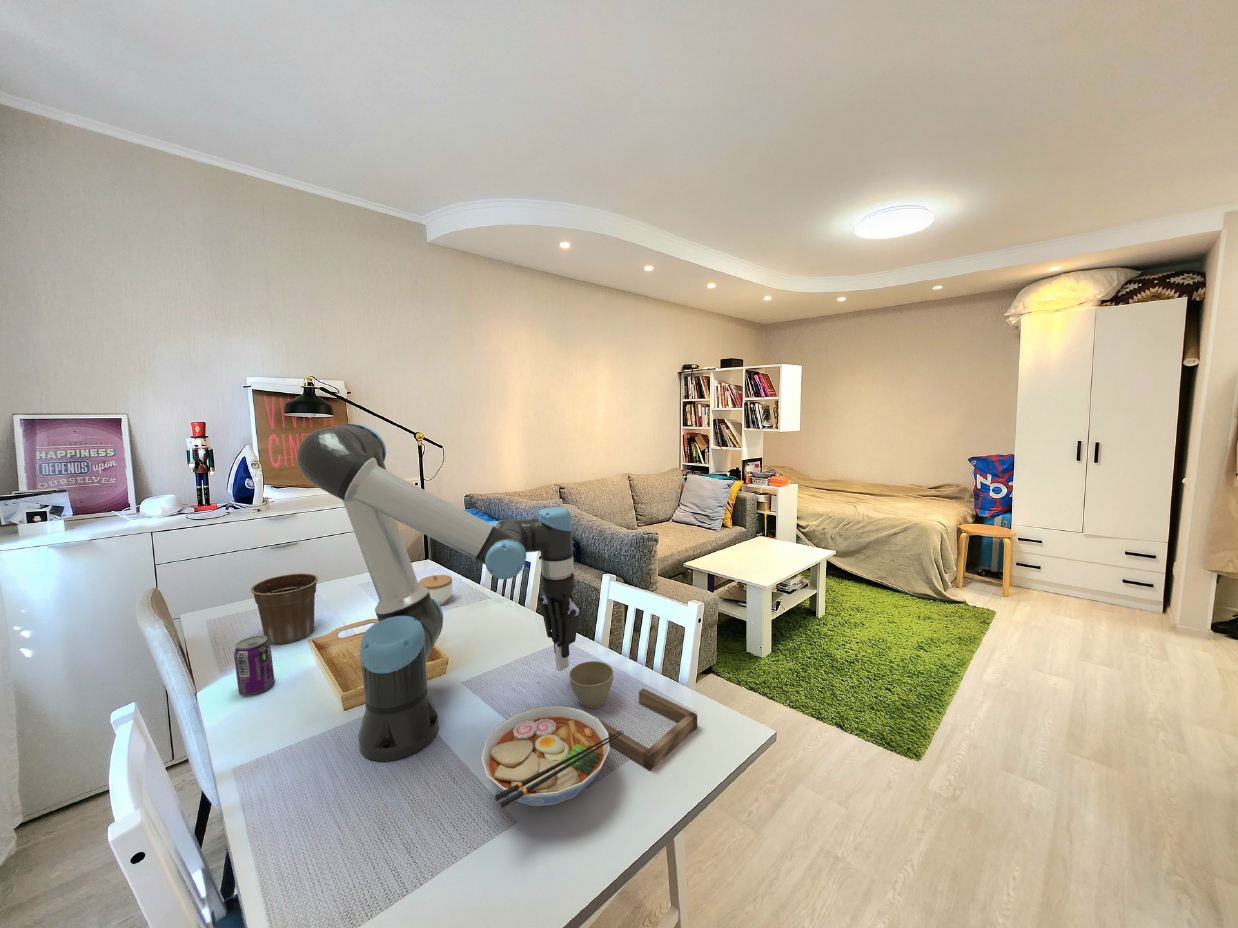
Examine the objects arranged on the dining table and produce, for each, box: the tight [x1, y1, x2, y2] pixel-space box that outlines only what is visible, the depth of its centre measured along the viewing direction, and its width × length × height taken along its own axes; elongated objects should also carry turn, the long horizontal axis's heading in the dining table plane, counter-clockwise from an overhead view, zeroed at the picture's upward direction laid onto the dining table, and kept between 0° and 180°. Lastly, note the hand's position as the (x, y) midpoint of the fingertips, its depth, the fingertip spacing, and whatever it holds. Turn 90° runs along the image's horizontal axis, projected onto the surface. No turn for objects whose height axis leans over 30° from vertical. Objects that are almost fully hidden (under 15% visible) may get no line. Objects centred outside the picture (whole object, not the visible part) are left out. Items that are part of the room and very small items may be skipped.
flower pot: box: [568, 660, 615, 709], centre depth 114 cm, size 10×10×7 cm
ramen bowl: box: [480, 705, 625, 809], centre depth 90 cm, size 25×23×8 cm
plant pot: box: [250, 572, 319, 645], centre depth 147 cm, size 16×16×16 cm
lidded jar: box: [418, 574, 453, 606], centre depth 170 cm, size 11×11×9 cm
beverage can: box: [233, 635, 276, 695], centre depth 120 cm, size 7×7×12 cm
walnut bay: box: [599, 687, 698, 771], centre depth 104 cm, size 16×14×3 cm
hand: (562, 667), depth 121 cm, fingers closed
